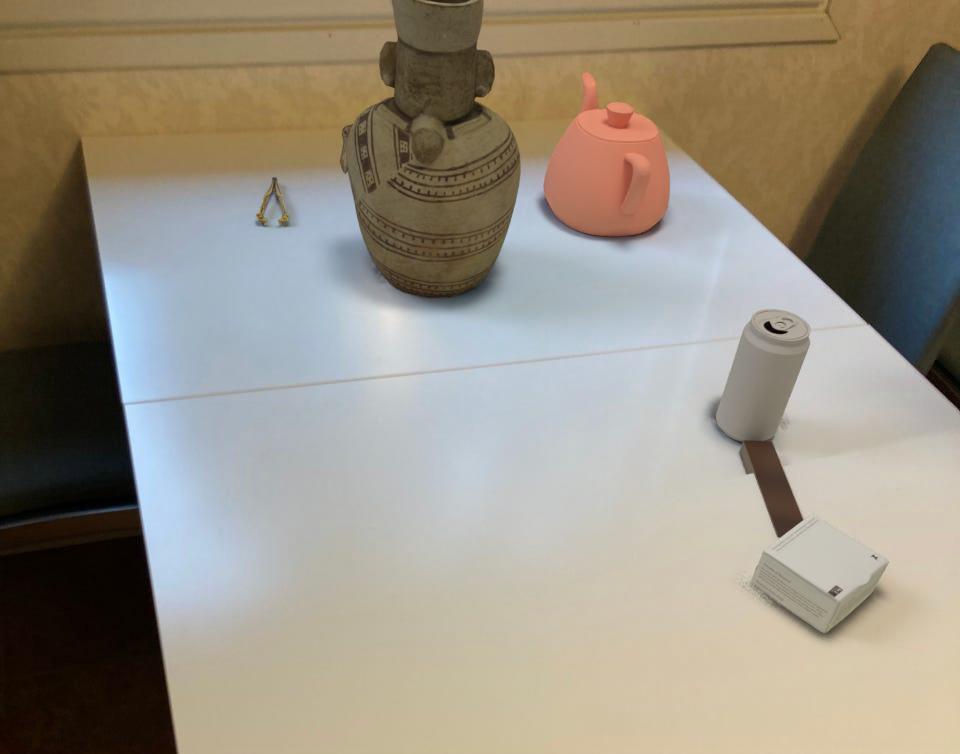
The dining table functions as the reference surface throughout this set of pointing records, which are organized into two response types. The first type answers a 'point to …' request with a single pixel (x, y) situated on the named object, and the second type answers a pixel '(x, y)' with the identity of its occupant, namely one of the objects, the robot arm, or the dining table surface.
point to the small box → (818, 572)
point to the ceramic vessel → (433, 155)
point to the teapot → (608, 170)
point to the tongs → (265, 199)
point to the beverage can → (763, 375)
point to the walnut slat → (772, 484)
